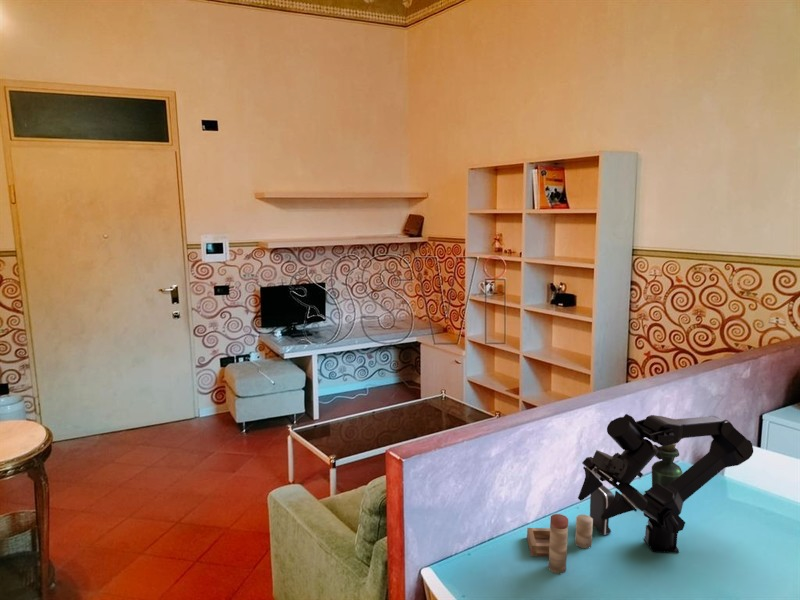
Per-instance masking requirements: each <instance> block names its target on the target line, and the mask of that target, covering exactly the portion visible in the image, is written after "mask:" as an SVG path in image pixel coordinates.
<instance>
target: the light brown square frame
mask: <svg viewBox="0 0 800 600" xmlns="http://www.w3.org/2000/svg"><path fill="white" fill-rule="evenodd" d="M526 532H527V534H526V540H527V545H528V548H529V553H530V557H544V558H545V557H547V558H549V545H550V527H549V528H548V527H544V528H543V527H540V528H539V527H527V531H526Z"/></svg>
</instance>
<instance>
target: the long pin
mask: <svg viewBox="0 0 800 600" xmlns="http://www.w3.org/2000/svg"><path fill="white" fill-rule="evenodd" d="M549 521H550V523H549V528H550V545H549V557H548V570H549V569H550V570H551V571H550V570H549V571H550V572H551V573H553V572H554V573H553V574H556V573H562V574H565V573H566V571H567V557H568V555H567V553H568V531H569V530H568V529H569V517H568V516H566V515H564V514H561V513H555V514H552V515H550V520H549Z"/></svg>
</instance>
